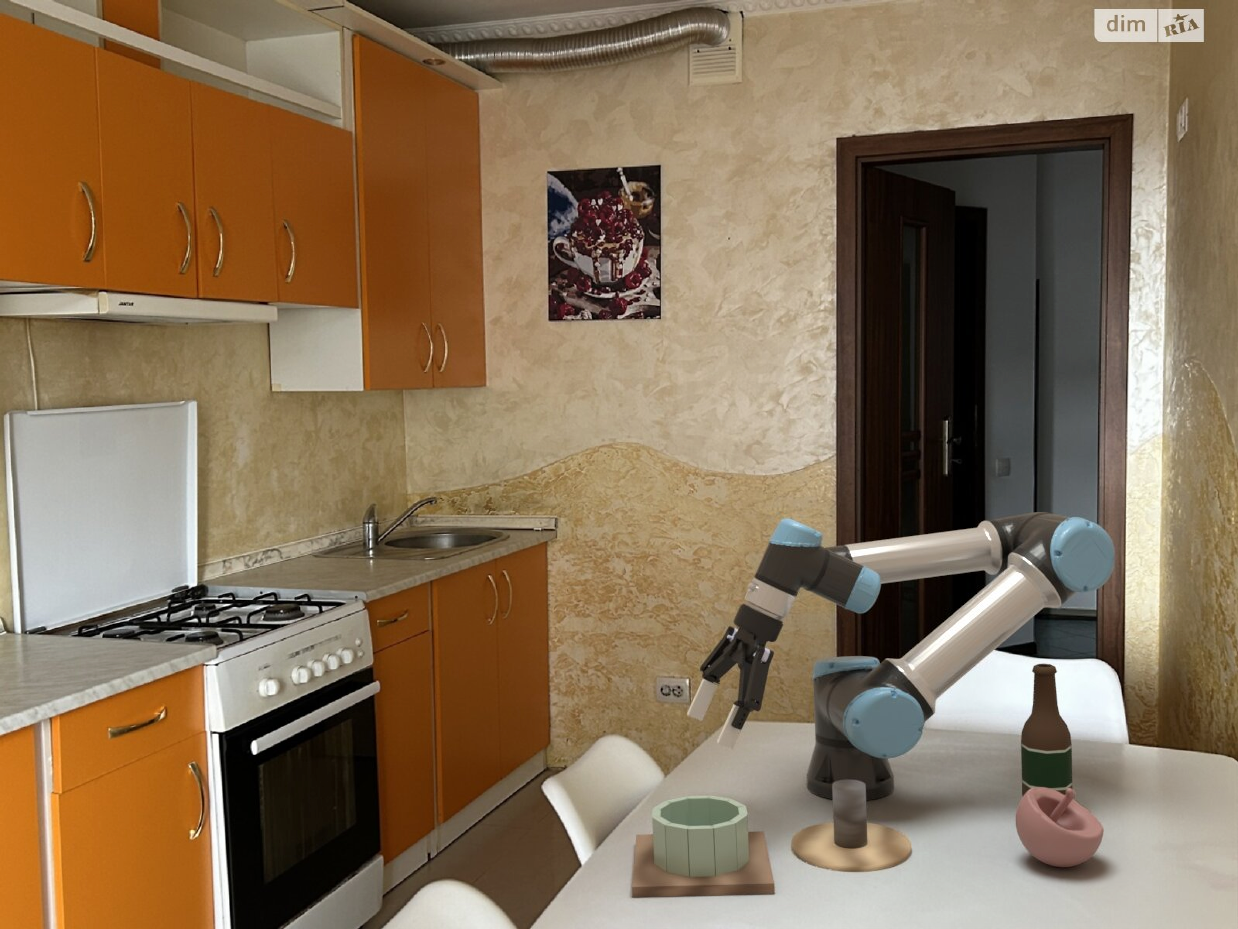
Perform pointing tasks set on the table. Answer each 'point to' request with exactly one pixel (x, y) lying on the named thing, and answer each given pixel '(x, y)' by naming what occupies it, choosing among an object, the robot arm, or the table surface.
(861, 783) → the lid
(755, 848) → the serving board
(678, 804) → the bowl
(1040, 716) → the beer bottle
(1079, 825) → the mortar and pestle
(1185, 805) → the table surface
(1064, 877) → the table surface
